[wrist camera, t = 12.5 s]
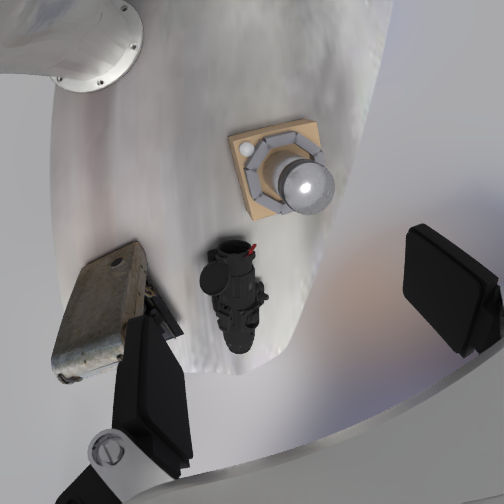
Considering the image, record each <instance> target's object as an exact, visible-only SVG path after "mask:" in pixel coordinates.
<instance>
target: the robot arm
mask: <svg viewBox="0 0 504 504" xmlns="http://www.w3.org/2000/svg"><path fill="white" fill-rule="evenodd" d="M124 9H127V10H126V11H123V10H124ZM143 35H144V32H143V24H142V22H141V19H140V17H139V15H138V13H137V11H136V10H135V9H134V8H133V7H132V6H131V5H130V4H128V3H127V2H126V1H124V0H0V74H4V73H6V74H11V73H12V74H30V75H41V76H50V78H51V79H52V81H54V82H55V83H56V84H57V85H58V86H59V87H61V88H63V89H65V90H68V91H71V92H77V93H89V92H94V91H98V90H101V89H104V88H106V87H108V86H110V85H112V84H114V83H115V82H117V81H118V80H119V79H120V78H122V77H123V76H124V75H125V74H126V73H127V72H128V71H129V70H130V69H131V67H132V66H133V64H134V63H135V61H136V60H137V57H138V55H139V53H140V51H141V47H142V44H143ZM134 46H137V48H136V49H135V50H133V47H134ZM61 78H63V80H62V81H61ZM101 81H104V83H103V84H102V85H101ZM405 249H406V250H405V267H404V281H403V294H404V296H405V298H406V299H407V300H408V301H409V302H410V303H411V304H412V305H413V306H414V307H415V309H417V311H419V313H420V314H421V315H422V316H423V317H424V318H425V319H426V320H427V322H429V324H430V325H431V326H432V327H433V328H434V329H435V330H436V331H437V332H438V334H439V335H440V336H441V337H442V338H443V339H444V340H445V342H446V343H447V344H448V345H449V346H450V347H451V348H452V350H453V351H455V352H456V353H459V354H460V355H461V356H462V357H463V358H465V357H467V356H468V355H469V354H471V353H473V351H474V349H475V350H476V351H477V352H478V356H477V357H476V358H474V359H473V360H471V361H470V362H468V363H467V364H465V365H464V366H462V367H461V368H459V369H458V370H456V371H455V372H453V373H452V374H450V375H448V376H447V377H445V378H444V379H442V380H440V381H439V382H437V383H435V384H434V385H432V386H430V387H428V388H427V389H425V390H424V391H422V392H420V393H418V394H416V395H414V396H413V397H411V398H409V399H407V400H405V401H403V402H401V403H399V404H398V405H396V406H394V407H392V408H390V409H388V410H386V411H384V412H382V413H380V414H377V415H376V416H373V417H371V418H369V419H367V420H365V421H363V422H360V423H358V424H356V425H354V426H351V427H349V428H346V429H344V430H342V431H339V432H337V433H334V434H332V435H329V436H327V437H324V438H322V439H319V440H316V441H313V442H311V443H308V444H305V445H302V446H299V447H296V448H294V449H290V450H287V451H284V452H281V453H278V454H275V455H271V456H268V457H265V458H261V459H257V460H254V461H250V462H247V463H244V464H239V465H235V466H232V467H227V468H224V469H219V470H215V471H210V472H206V473H202V474H197V475H193V476H189V477H184V478H179V477H180V475H181V471H180V469H183V468H188V467H190V464H189V459H192V458H193V450H192V443H191V435H190V428H189V418H188V409H187V400H186V392H185V391H186V390H185V380H184V373H183V370H182V368H181V366H180V364H179V363H178V361H177V359H176V358H175V356H174V354H173V353H172V351H171V349H170V348H169V346H168V344H167V343H166V341H165V339H164V337H163V336H162V334H161V332H160V330H159V329H158V327H157V325H156V323H155V322H154V320H153V318H152V317H149V318H147V317H146V316H145V315H141V316H137V317H134V318H130V319H129V320H128V323H127V330H126V337H125V345H124V353H123V361H120V362H119V363H118V366H117V374H116V384H115V393H114V404H113V417H112V429H106V430H104V431H101V432H100V433H98V434H97V435H96V436H95V437H94V438H93V439H92V440H91V442H90V445H89V447H88V459H89V461H90V463H91V464H90V465H89V466H88V467H87V468H86V469H85V470H84V471H83V472H82V473H81V474H80V476H78V478H77V479H75V481H74V482H73V483H72V484H71V485H70V486H69V487H68V488H67V489H66V490H65V491H64V492H63V493H62V494H61V495H60V496H59V498H58V499H57V501H56V503H55V504H504V281H503V282H502V283H501V286H499V285H497V282H498V279H499V278H498V277H497V276H495V275H494V274H493V273H492V272H491V271H489V270H488V269H487V268H485V267H484V266H483V265H482V264H480V263H479V262H478V261H476V260H475V259H474V258H472V257H471V256H470V255H468V254H467V253H466V252H464V251H463V250H462V249H460V248H459V247H457V246H456V245H455V244H453V243H452V242H450V241H449V240H448V239H446V238H445V237H443V236H442V235H440V234H439V233H437V232H436V231H435V230H433V229H432V228H430V227H429V226H427V225H426V224H419V225H417V226H414V227H411V228H410V229H409V231H408V233H407V235H406V248H405Z"/></svg>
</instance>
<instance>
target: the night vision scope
mask: <svg viewBox="0 0 504 504" xmlns="http://www.w3.org/2000/svg"><path fill="white" fill-rule="evenodd" d="M256 245H257V244H253V246H252V247H251V245H250V244H249V243H247V242H245V241H241V240H230V241H226V242H223V243H222V244H220V245H219V247H218V250H211V251H209V252H208V253H207V254H208V261H209V264H207V265H206V266H205V267H204V269H203V271H202V273H201V275H200V287H201V289H202V290H203V292H204V293H206V294H208V295H210V296H212V302H213V308H214V310H215V312H216V316H217V317H219V319H218V321H217V322H218V325H219V328H220V330H222V331H223V336H224V339H225V341H226V344H227V346H228V347H229V350H230V351H231V352H233V353H235V354H243V353H246V352H248V351H249V350H250V348H251V346H252V344H253V340H254V336H255V328H256V327H257V326H258V324H259V307H260V306H261V305H262V304H263V303H264V300H268V299H269V296H268V295H267V294H265V293H264V285H263V283H262V282H260V284H258V283H255V268H254V267H253V264H252V260H253V259H254V258H255V251H253V250H254V249H255V247H256Z"/></svg>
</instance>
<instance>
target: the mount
mask: <svg viewBox="0 0 504 504" xmlns="http://www.w3.org/2000/svg"><path fill="white" fill-rule="evenodd" d="M228 140H229V144H230V148H231V152H232V156H233V160H234V163H235V167H236V171H237V175H238V179H239V183H240V187H241V191H242V194H243V198H244V202H245V206H246V210H247V211H248V213H249V215H250V217H251V218H252V220H253V221H255V220H258V219H262V218H265V217H268V216H271V215H275V214H280V213H281V214H282V215H283V214H286V213H290V212H293V211H294V210H292V209H291V208H290V207H289V206H288V205H287V204H286V203H285V202H284V201H283V200H282V199H281V197H280V196H278V195H277V194H276V193H275V192H274V191H273V190H272V189H271V188H270V187H269V186H268V185H267V184H266V183H265V181H264V178H263V167H264V164H265V162H266V160H267V159H268V158H269V157H270V156H271V155H272V154H273V153H275V152H278V151H282V150H287V151H291V152H293V153H295V154H298V155H300V156H302V157H304V158H306V159H310V160H313V161H315V162H317V163H319V164H321V165H323V166H324V167H325V168H326V166H325V160H324V153H323V151H322V150H321V149H322V148H321V146H320V140H319V134H318V128H317V123H316V121H311V120H307V119H301V120H296V121H291V122H286V123H282V124H277V125H273V126H269V127H264V128H260V129H256V130H252V131H248V132H244V133H241V134H237V135H233V136H229V137H228Z"/></svg>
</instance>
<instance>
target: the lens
mask: <svg viewBox="0 0 504 504" xmlns="http://www.w3.org/2000/svg"><path fill="white" fill-rule="evenodd" d="M263 178H264V181H265V183H266V184H267V185H268V186H269V187H270V188H271V189H272V190H273V191H274V192H275V193H276V194H277V195H278V196H280V197H281V199H282V200H283V201H284V202H285V203H286V204H287V205H288V206H289V207H290V208H291V209H292V210H294V211H295V212H298V213H300V214H303V215H312V214H316V213H318V212H320V211H322V210H323V209H325V208H326V207H327V206H328V204H329V203H330V202H331V200H332V198H333V195H334V190H335V183H334V179H333V176H332V175H331V173H330V172H329V171H328V170H327V169H326V168H325V167H324V166H323V165H321V164H319V163H317V162H315V161H313V160H310V159H306V158H304V157H302V156H300V155H298V154H295V153H293V152H291V151H287V150H282V151H278V152H275V153H273V154H272V155H271V156H270V157H269V158H268V159H267V160H266V162H265V164H264V167H263Z"/></svg>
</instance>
